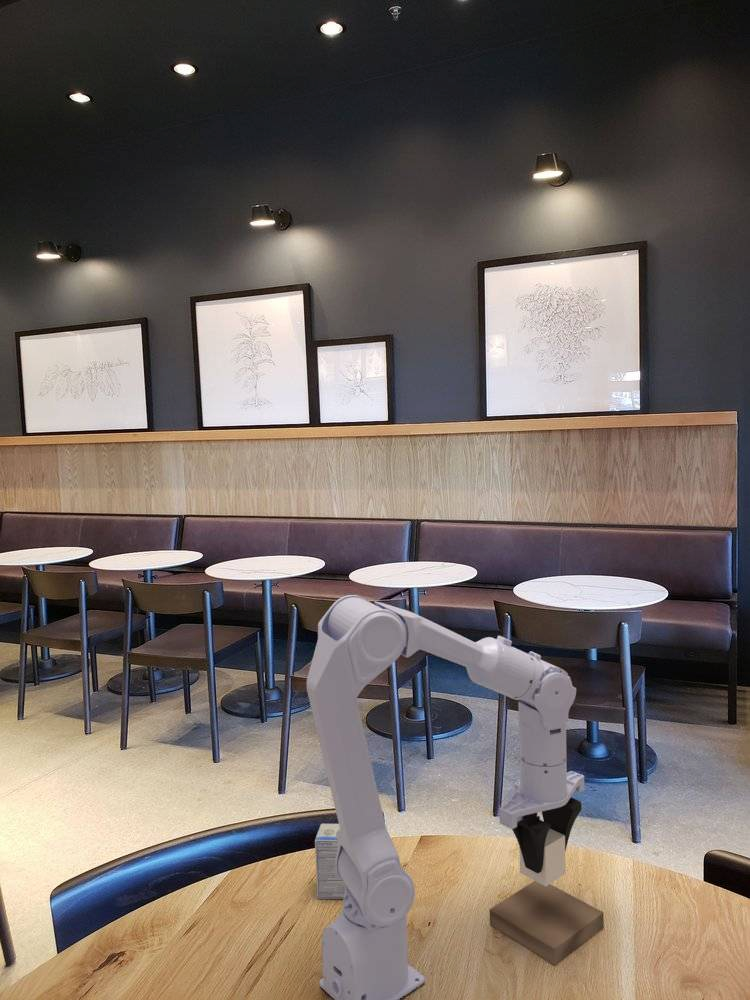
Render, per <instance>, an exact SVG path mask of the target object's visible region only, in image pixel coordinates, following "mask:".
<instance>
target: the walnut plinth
mask: <svg viewBox="0 0 750 1000" xmlns="http://www.w3.org/2000/svg"><path fill="white" fill-rule="evenodd" d="M604 923H605V922H604V912H603V911H602V910H599V909H598V908H596V907H594V906H593V905H590V904H588V903H587V902H585V901H583V900H580V899H579V898H578V897H575V896H574V895H572V894H570V893H568V892H566V891H564V890H563V889H561V888H558V887H556V886H554V885H553V884H552V883H551V884H549V885H548V886H546V887H545V886H544V885H542V884H540V883H538V882H536V881H534V880H533V881H532V882H531V883H529V884H527V885H525V886H524V887H522V888H521V889H519V890H518V891H516V892H515V893H514V894H512V895H510V896H508V897H507V898H505V899H503V900H502V901H500V902H499V903H497V904H496V905H493V906H492V907H491V908H489V925H490V926H492V927H493V928H495V929H496V930H498V931H499V932H501V933H502V934H505V936H507V937H509V938H511V939H512V940H513V941H515V942H517V943H518V944H520V945H522V946H523V947H524V948H526V949H528V950H529V951H531V952H532V953H533V954H536V955H538V956H539V957H541V958H542V959H544V960H545V961H547V962H548V963H550V964H552V965H553V966H556V965H557V964H559V963H560V962H562V960H564V959H565V958H567V957H568V956H569V955H570V954H572V952H574V951H576V949H577V950H578V948H579V947H581V946H582V945H583V944H584V943H586V942H587V941H588V940H590V939H591V938H592V937H593V936H595V935H596V934H597V933H599V932H600V931H602V930H603V929H604V928H605V927H604V926H605V925H604Z"/></svg>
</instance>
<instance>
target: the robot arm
mask: <svg viewBox="0 0 750 1000" xmlns="http://www.w3.org/2000/svg"><path fill="white" fill-rule="evenodd" d="M512 643H513V642H512V640H511V639H509V638H506V637H503V636H501V635H497V637H496V638H494V637H490V636H488V637H484V638H482V639H480V640H478V641H473V640H471V639H468V638H467V637H464V636H462V635H461V634H459V633H457V632H455V631H453V630H450V629H448V628H446V627H444V626H442V625H440V624H438V623H437V622H436V623H435V622H433V621H432V620H429V619H427V618H425V617H424V616H422V615H421V616H420V615H419V614H416V613H415V612H412V611H410V610H407V609H404V608H403V609H402V608H400V607H396V606H393V605H390V604H387V603H384V602H380V601H379V602H378V601H374V603H372V602H370V601H369V600H368V599H366V598H365V597H363V596H360V595H356V594H348V595H345V596H343V597H339V599H337V600H336V601H334V602H333V603H332V605H330V607H329V608H328V610H327V611H326V612H325V614H324V615H323V616H322V617H321V619H320V620H319V621H318V624H317V642H316V645H315V649H314V652H313V656H312V658H311V659H312V660H311V664H310V666H309V671H308V675H307V677H306V683H305V684H306V691H307V696H308V701H309V705H310V708H311V712H312V713H311V714H312V716H313V721H314V725H315V729H316V735H317V738H318V743H319V746H320V751H321V755H322V760H323V762H324V763H323V764H324V767H325V771H326V775H327V780H328V785H329V788H330V793H331V797H332V800H333V804H334V809H335V813H336V817H337V822H338V824H339V826H340V829H339V830H338V831H337V832H336V837H337V841H338V850H337V854H336V858H335V867H336V871H337V873H338V875H339V877H340V878H341V880H343V881H344V883H345V894H344V898H343V899H342V900H343V901H342V908H341V911H340V912H339V914H338V915H337V917H336V918H335V919H334V920H333V921H332V922H331V923H330V924H329V925H328V926H326V927H325V928H323V931H322V933H321V934H322V935H321V957H322V978H321V979H320V980H319V986H320V987H321V988H322V989H323V990H324V991H325V992H326V993H327V994H328V995H329V996H330V997H331V998H333V1000H401V999H402V998H403V996H404V997H405V996H407V995H408V994H410V993H411V992H413V990H415V989H417V988H418V987H420V986H421V985H423V984H424V983H425V982H426V980H425V979H426V978H425V976H424V975H423V974H421V973H420V972H419V971H418V970H416V969H415V968H414V967H413V966H411V965H410V964H409V957H408V956H409V954H408V953H409V950H408V947H409V946H408V923H407V922H408V920H407V914H408V913H409V912H410V910H411V908H412V906H413V903H414V899H415V896H416V889H415V883H414V880H413V878H412V877H411V876H410V874H409V873H407V871H406V870H405V869H404V867H403V866H402V863H401V860H400V859H401V858H400V855H399V853H398V850H397V848H396V847H395V844H394V842H393V840H392V837H391V835H390V833H389V831H388V829H387V826H386V821H385V817H384V813H383V812H384V811H383V809H382V805H381V804H382V803H381V800H380V796H379V792H378V787H377V782H376V778H375V773H374V769H373V764H372V760H371V756H370V751H369V747H368V742H367V738H366V734H365V729H364V727H363V726H364V725H363V721H362V717H361V713H360V708H359V703H358V697H359V695H360V694H361V692H362V691H363V690H364V688H365V687H366V686H367V685H368V684H369V683H371V682H372V681H373V680H374V679H375V678H377V677H378V676H379V675H381V674H382V672H384V671H385V670H386V669H388V668H389V667H390V666H391V665H392V664H393V663H395V662H396V661H397V660H398V659H399V657H400V656H403V657H405V658H410V657H411V656H413V655H414V654H415V653H416V652H418V651H420V650H421V651H424V652H426V653H429V654H431V655H434V656H436V657H439V658H442V659H444V660H448V661H449V662H452V663H455V664H458V665H460V666H463V667H465V669H466V672H467V675H468V677H469V679H470V681H472V682H473V683H475V684H476V685H478V686H482V687H484V688H487V689H489V690H491V691H494V692H496V693H498V694H500V695H503V696H505V697H508V698H510V699H512V700H516V701H518V743H519V747H518V749H519V750H518V751H519V780H517V781H515V782H514V789H515V790H516V791H515V792H514V793H513V794H512V796H511V797H510V798H509V799H508V801H507V802H506V803H505V804H504V805H502V806H501V807H499V808H498V811H499V813H498V814H499V815H498V816H499V824H500V825H502V826H503V827H506V828H508V829H511V830H512V831H513V834H514V836H515V838H516V840H517V843H518V846H520V849H521V853H522V856H523V860H524V864H525V867H526V868H528V869H530V870H532V871H534V872H536V873H540V872H541V871H542V867H543V859H544V846H545V840H546V836H547V834H548V831H549V829H552V830H554V831H556V832H559V833H561V834H563V835H565V852H566V851H567V846H568V842H569V838H570V835H571V831H572V828H573V826H574V823H575V821H576V819H577V817H578V816H579V814H580V813H581V811H582V802H581V801H580V800H578V799H576V798H573V797H572V796H573V794H574V793H575V791H576V792H578V793H581V792H582V791H584V790H585V775H583V774H580V773H578V772H576V771H572V770H570V771H568V772H567V770H568V768H567V760H568V759H567V723H568V722H569V712H570V709H571V707H572V706H573V704H574V702H575V699H576V695H577V687H574V686H573V683H572V679H571V677H570V676H569V673H568V672H567V671H566V670H564V668H561V667H558V666H556V665H554V664H551V663H550V662H547V661H545V660H542V656H541V655H540V654H538V653H536V652H534V651H529V652H528V653H527V652H525V651H523V650H521V649H518V648H516V647H514V646H512ZM538 813H541V816H542V819H543V820H542V819H541V816H539V815H538ZM416 981H418V982H416ZM416 987H417V988H416ZM400 998H401V999H400Z"/></svg>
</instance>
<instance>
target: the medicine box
mask: <svg viewBox="0 0 750 1000" xmlns="http://www.w3.org/2000/svg"><path fill="white" fill-rule="evenodd" d="M339 829H340V826H339V823H321V824H320V825H319V828H318V830H317V833H316V836H315V838H314V848H315V849H314V850H315V871H316V896H317V899H320V900H321V899H323V900H326V899H327V900H343V898H344V894H345V883H344V881H343V880H341V878H340V877H339V875H338V873H337V871H336V867H335V858H336V854H337V850H338V841H337V837H336V832H337V831H338V830H339Z"/></svg>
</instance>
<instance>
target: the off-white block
mask: <svg viewBox="0 0 750 1000" xmlns="http://www.w3.org/2000/svg"><path fill="white" fill-rule="evenodd" d="M518 846H519V845H518ZM519 873H520V874H521V875H524V876H525V877H527V878H528V879H531V880H533V881H536V882H538V883H540V884H542V885H544V886H545V887H546V886H548V885H549V884H551V885H552V883H554V882H555V881H557V880H559V879H560V878H562V877H563V876H565V875H566V873H567V872H566V851H565V835H563V834H561V833H559V832H556V831H554V830H552V829H549V831H548V834H547V836H546V840H545V846H544V859H543V867H542V871H541V872H540V873H536V872H534V871H532V870H530V869H528V868H526V867H525V864H524V860H523V856H522V853H521V849H520V846H519Z"/></svg>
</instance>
